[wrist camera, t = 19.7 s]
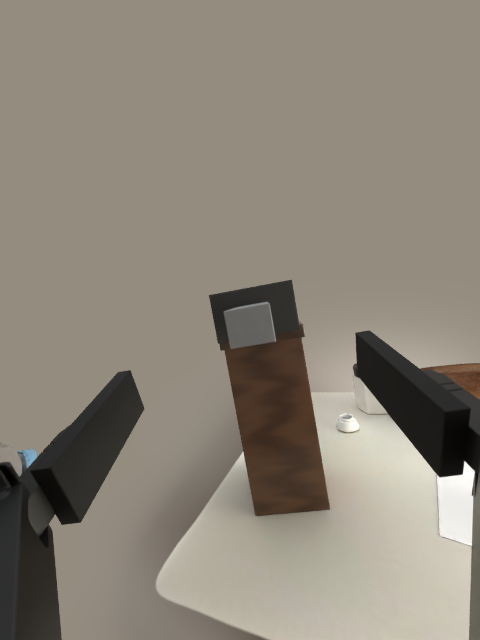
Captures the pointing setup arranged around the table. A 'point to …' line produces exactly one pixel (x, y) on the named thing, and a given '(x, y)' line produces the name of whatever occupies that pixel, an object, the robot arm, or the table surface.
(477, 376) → the bread
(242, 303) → the sledgehammer head
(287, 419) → the stand
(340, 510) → the table surface
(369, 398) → the jar
